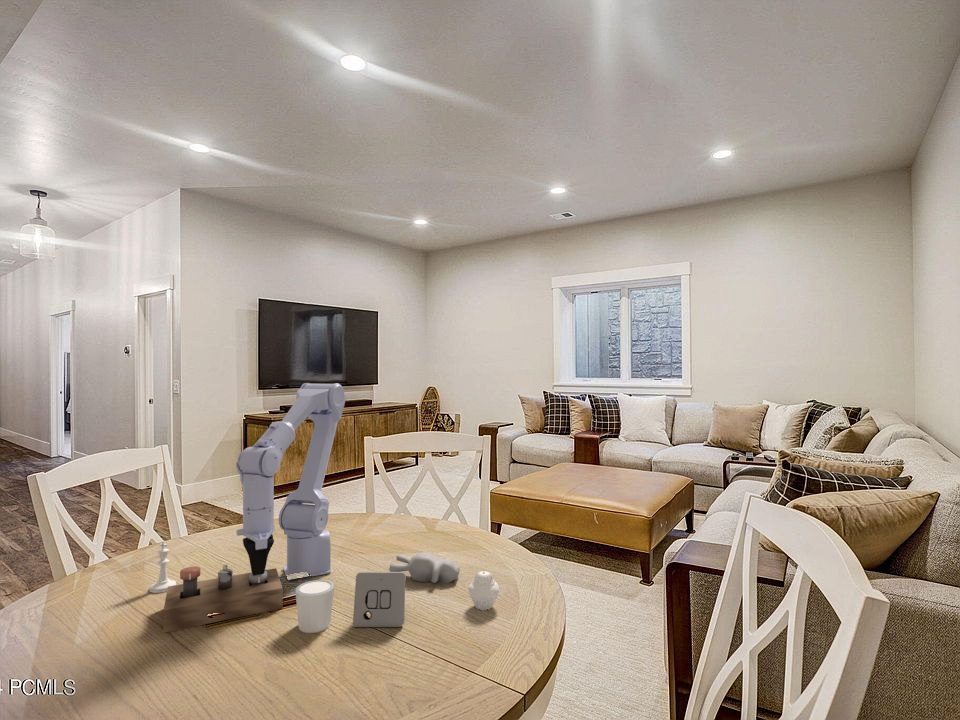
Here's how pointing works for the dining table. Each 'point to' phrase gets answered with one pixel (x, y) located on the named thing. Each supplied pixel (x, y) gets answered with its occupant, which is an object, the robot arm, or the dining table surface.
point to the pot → (225, 578)
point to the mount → (221, 601)
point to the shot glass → (314, 605)
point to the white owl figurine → (483, 590)
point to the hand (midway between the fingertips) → (258, 573)
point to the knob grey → (258, 578)
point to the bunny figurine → (427, 567)
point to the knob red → (190, 581)
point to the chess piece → (162, 572)
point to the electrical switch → (379, 599)
